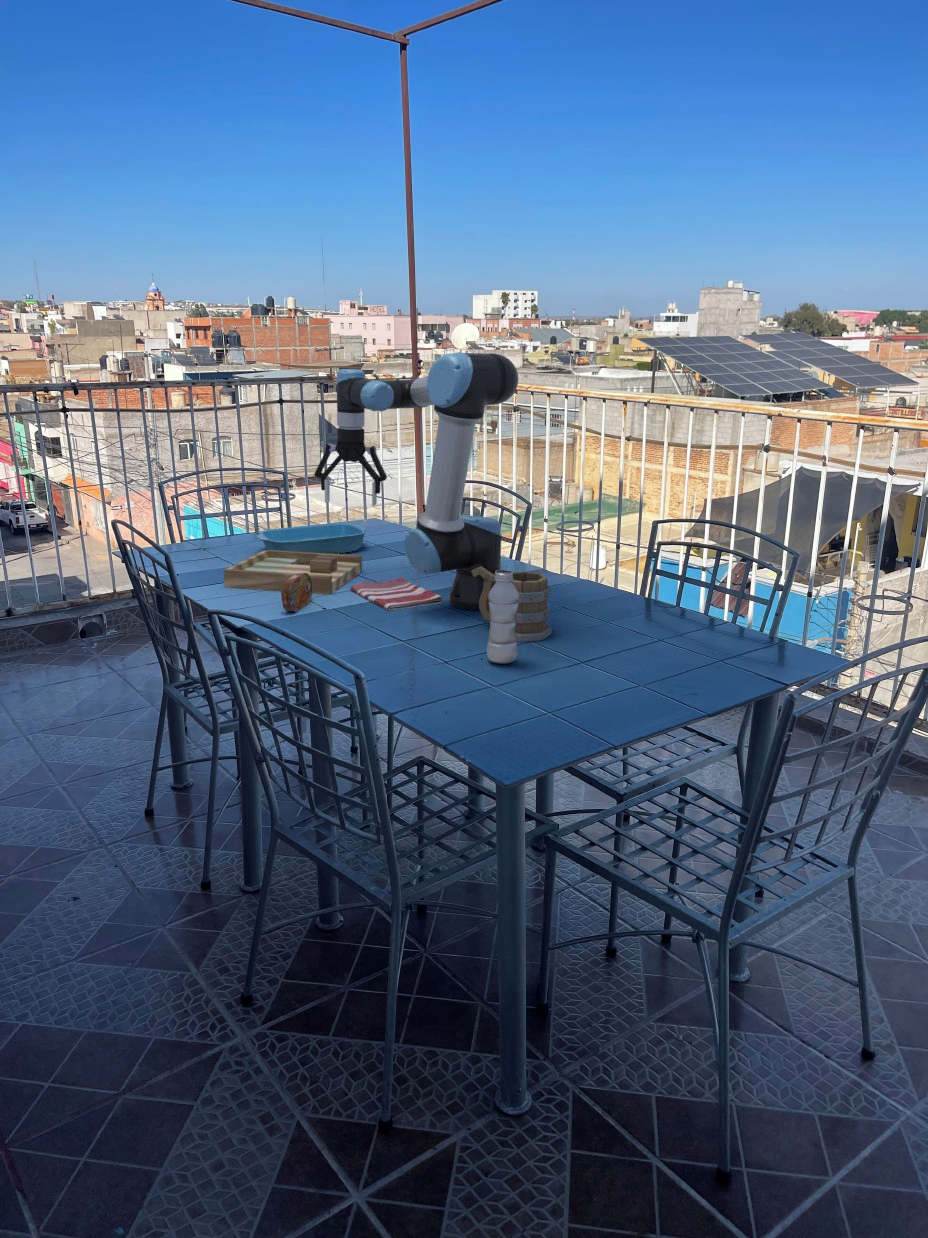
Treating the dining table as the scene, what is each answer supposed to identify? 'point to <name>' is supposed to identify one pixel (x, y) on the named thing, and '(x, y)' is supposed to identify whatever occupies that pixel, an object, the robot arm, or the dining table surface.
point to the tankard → (522, 603)
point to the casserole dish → (315, 538)
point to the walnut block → (323, 565)
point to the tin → (296, 592)
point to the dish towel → (396, 594)
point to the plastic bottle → (502, 619)
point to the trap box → (290, 571)
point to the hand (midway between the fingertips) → (350, 503)
